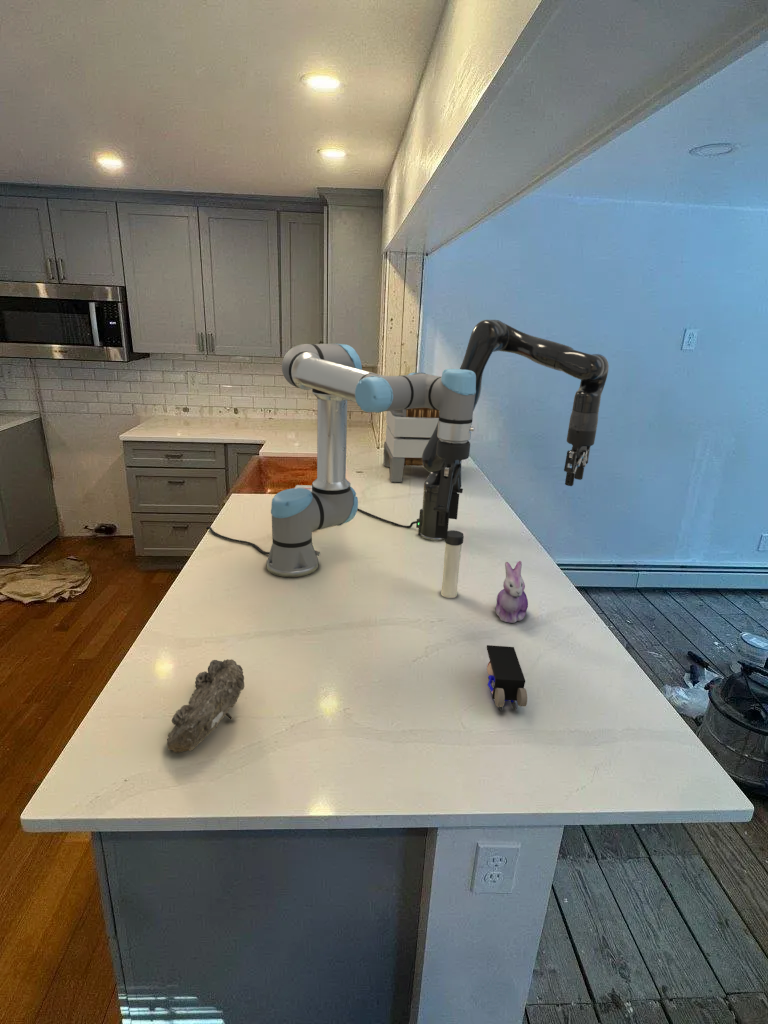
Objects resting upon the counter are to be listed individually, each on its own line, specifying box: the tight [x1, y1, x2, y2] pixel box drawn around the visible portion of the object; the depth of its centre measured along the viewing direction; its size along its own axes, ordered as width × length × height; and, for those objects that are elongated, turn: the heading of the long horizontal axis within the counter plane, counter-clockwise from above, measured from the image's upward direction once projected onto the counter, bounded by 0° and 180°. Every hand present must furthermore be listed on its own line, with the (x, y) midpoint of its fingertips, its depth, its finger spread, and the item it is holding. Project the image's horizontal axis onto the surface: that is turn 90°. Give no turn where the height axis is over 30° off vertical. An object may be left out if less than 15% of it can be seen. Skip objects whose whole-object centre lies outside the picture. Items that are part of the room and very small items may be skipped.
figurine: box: [495, 560, 529, 624], centre depth 147 cm, size 9×10×15 cm
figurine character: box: [485, 644, 528, 712], centre depth 117 cm, size 7×8×15 cm
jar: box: [440, 543, 462, 599], centre depth 156 cm, size 4×4×18 cm
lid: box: [443, 529, 465, 546], centre depth 153 cm, size 5×5×2 cm
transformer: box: [383, 408, 463, 483], centre depth 268 cm, size 34×33×41 cm
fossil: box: [166, 658, 245, 754], centre depth 106 cm, size 22×10×15 cm
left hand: (446, 527), depth 135 cm, fingers open, 13 cm apart
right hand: (573, 482), depth 165 cm, fingers open, 8 cm apart
